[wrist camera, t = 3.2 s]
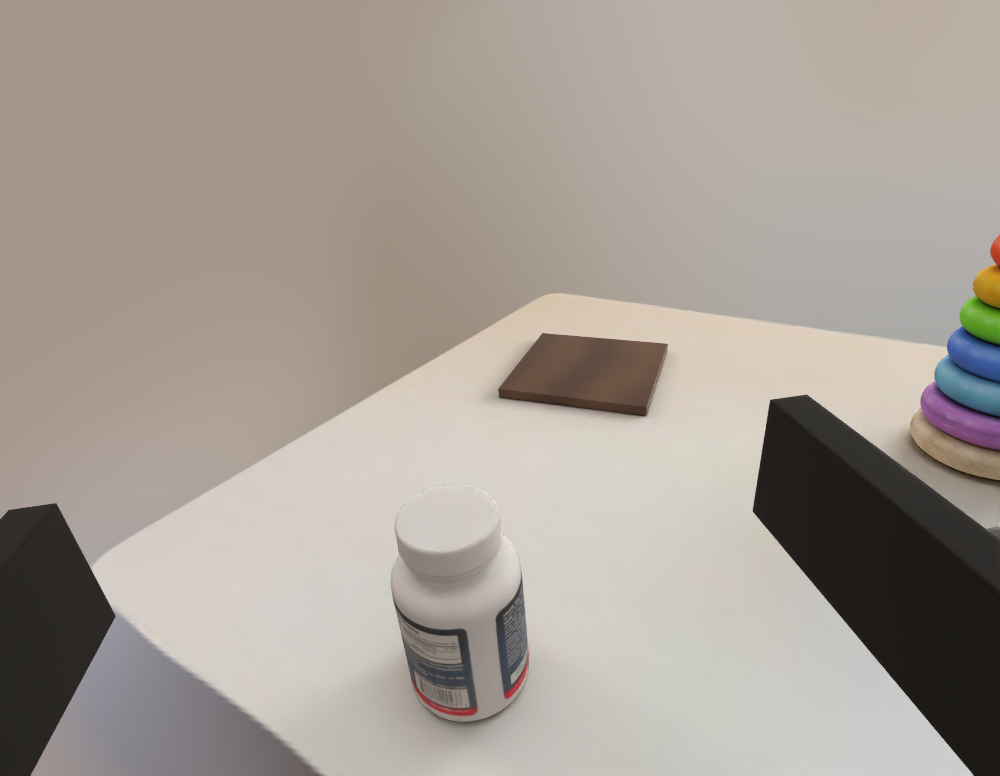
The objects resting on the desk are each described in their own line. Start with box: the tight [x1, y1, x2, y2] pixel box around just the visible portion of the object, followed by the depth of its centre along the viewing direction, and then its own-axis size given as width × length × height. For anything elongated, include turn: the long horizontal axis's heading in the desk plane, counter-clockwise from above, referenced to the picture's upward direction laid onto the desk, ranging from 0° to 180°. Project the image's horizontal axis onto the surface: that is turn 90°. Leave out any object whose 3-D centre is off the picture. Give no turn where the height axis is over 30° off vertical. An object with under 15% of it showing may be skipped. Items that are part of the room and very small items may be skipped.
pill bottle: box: [391, 485, 529, 722], centre depth 24 cm, size 5×5×9 cm
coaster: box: [498, 333, 668, 416], centre depth 51 cm, size 12×12×1 cm
